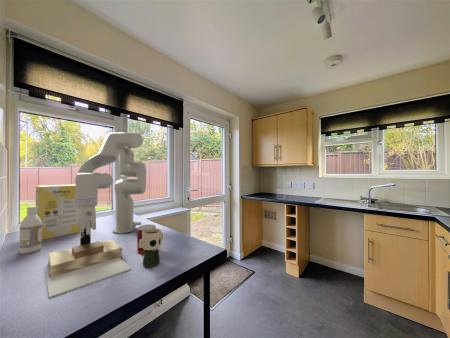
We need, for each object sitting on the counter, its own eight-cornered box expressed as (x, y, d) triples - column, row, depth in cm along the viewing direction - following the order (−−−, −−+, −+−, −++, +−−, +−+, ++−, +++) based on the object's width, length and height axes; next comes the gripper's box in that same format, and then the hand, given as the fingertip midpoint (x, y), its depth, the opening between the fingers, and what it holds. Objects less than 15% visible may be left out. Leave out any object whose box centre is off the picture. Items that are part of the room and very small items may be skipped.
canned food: (137, 256, 80) (138, 230, 80) (136, 249, 87) (137, 225, 87) (156, 252, 83) (156, 228, 84) (154, 246, 90) (154, 223, 91)
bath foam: (37, 252, 83) (38, 207, 83) (15, 255, 80) (16, 208, 80) (44, 246, 89) (45, 204, 89) (24, 249, 86) (25, 205, 86)
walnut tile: (98, 246, 79) (99, 241, 79) (103, 251, 75) (103, 245, 75) (71, 253, 73) (71, 247, 73) (75, 259, 68) (75, 252, 68)
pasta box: (75, 228, 118) (76, 184, 118) (80, 231, 111) (81, 185, 112) (34, 236, 103) (36, 185, 104) (37, 240, 97) (39, 186, 98)
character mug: (144, 273, 66) (145, 236, 66) (132, 268, 70) (133, 233, 70) (168, 261, 75) (169, 229, 76) (156, 257, 79) (157, 226, 79)
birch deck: (112, 247, 88) (112, 239, 88) (121, 257, 79) (122, 247, 79) (48, 263, 72) (48, 253, 73) (50, 277, 63) (51, 266, 63)
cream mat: (119, 258, 78) (119, 257, 78) (131, 269, 68) (131, 268, 68) (46, 279, 62) (46, 278, 62) (49, 298, 53) (49, 296, 53)
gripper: (101, 203, 75) (100, 249, 75) (93, 199, 86) (92, 239, 85) (78, 205, 70) (76, 255, 69) (72, 201, 80) (71, 244, 80)
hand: (85, 246), depth 77 cm, fingers closed
